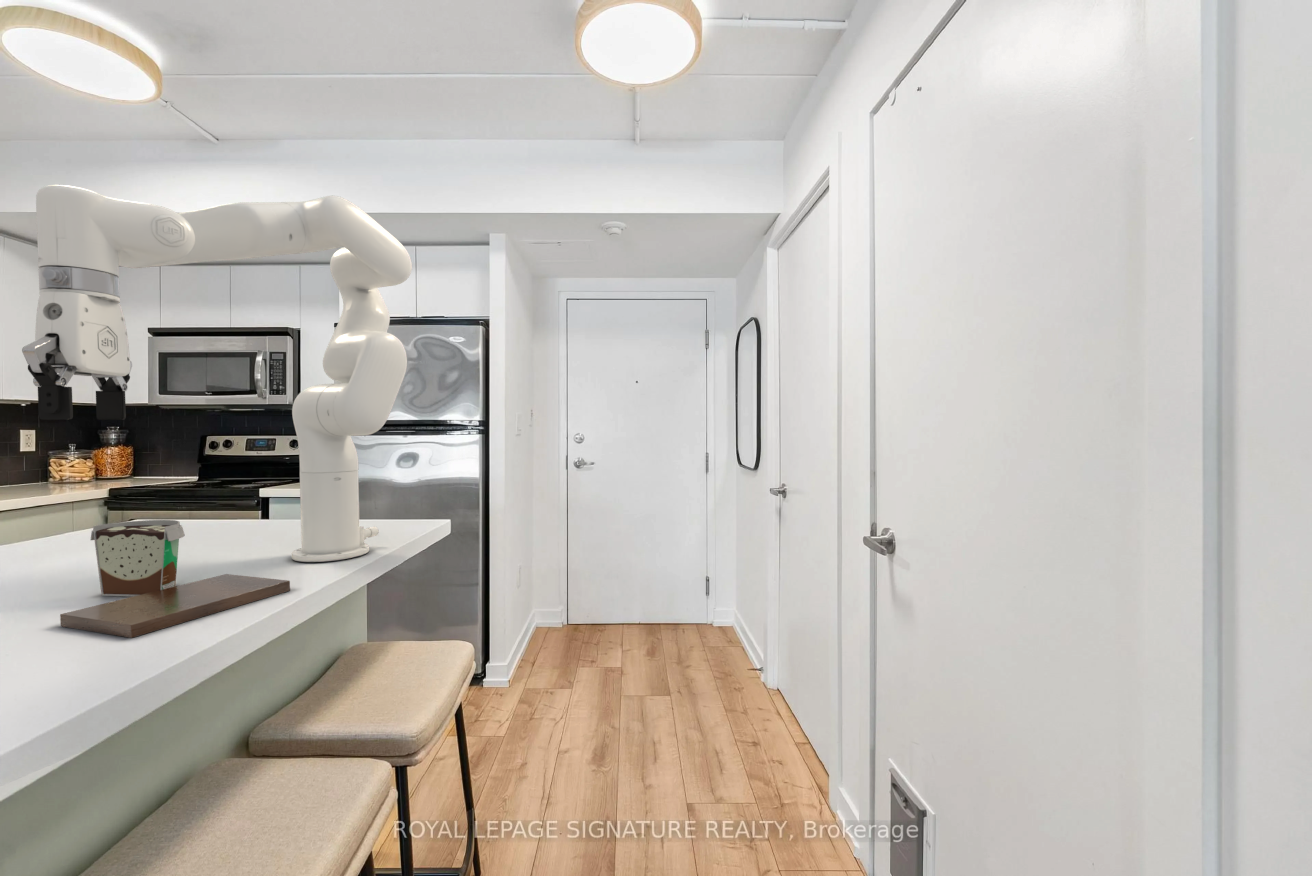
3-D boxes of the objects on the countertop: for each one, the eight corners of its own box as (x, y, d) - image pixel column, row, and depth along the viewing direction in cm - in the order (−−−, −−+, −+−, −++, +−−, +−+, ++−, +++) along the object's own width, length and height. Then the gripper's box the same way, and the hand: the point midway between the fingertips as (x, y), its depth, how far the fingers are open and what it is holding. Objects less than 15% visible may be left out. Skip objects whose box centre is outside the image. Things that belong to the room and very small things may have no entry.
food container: (208, 585, 90) (206, 519, 89) (170, 597, 84) (168, 526, 83) (134, 583, 91) (132, 518, 91) (92, 595, 85) (89, 525, 84)
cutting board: (226, 583, 91) (226, 573, 91) (290, 590, 86) (290, 580, 86) (60, 626, 72) (59, 614, 72) (131, 638, 68) (130, 625, 67)
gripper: (63, 272, 69) (68, 419, 70) (155, 302, 86) (159, 419, 87) (-15, 269, 68) (-9, 419, 68) (94, 300, 85) (99, 420, 85)
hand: (85, 419), depth 77 cm, fingers open, 9 cm apart
